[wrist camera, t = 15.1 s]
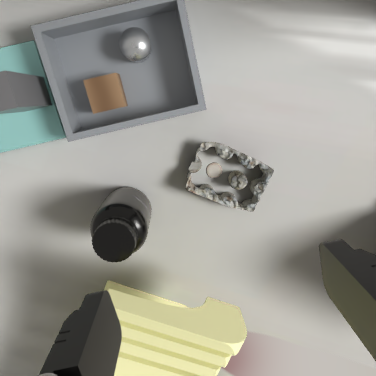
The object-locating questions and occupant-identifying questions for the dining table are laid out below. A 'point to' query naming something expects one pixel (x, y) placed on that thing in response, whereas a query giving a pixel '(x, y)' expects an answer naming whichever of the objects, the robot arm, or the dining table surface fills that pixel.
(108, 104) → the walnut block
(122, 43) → the metal knob
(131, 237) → the supplement bottle
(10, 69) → the lid
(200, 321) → the slatted curved stool
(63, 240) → the dining table surface
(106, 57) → the open box
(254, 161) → the egg carton
